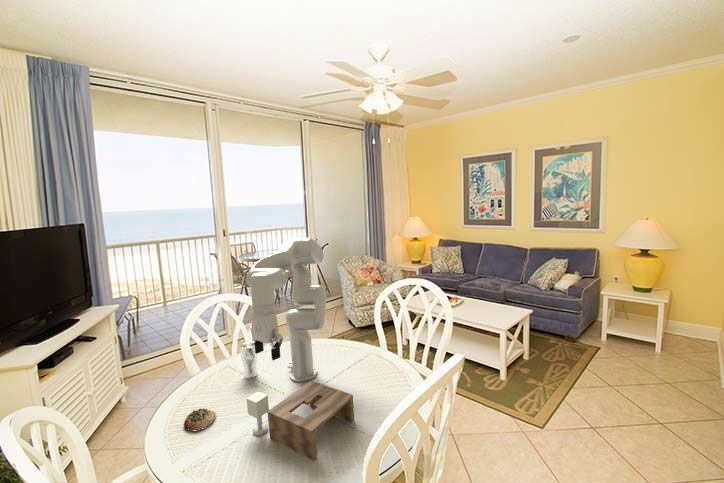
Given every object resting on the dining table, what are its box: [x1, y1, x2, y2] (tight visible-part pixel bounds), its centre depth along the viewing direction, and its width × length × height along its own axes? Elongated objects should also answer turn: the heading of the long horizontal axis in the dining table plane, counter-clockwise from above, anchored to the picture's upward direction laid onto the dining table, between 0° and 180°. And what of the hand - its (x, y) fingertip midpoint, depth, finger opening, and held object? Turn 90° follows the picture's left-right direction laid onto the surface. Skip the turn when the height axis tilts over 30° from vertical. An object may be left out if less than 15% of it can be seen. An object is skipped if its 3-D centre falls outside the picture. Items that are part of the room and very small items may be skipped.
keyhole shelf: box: [266, 380, 355, 462], centre depth 120 cm, size 20×22×10 cm
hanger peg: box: [246, 391, 270, 437], centre depth 120 cm, size 5×5×13 cm
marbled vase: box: [240, 341, 259, 379], centre depth 159 cm, size 7×7×15 cm
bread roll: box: [183, 408, 217, 431], centre depth 128 cm, size 11×11×5 cm
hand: (267, 355), depth 121 cm, fingers open, 9 cm apart
